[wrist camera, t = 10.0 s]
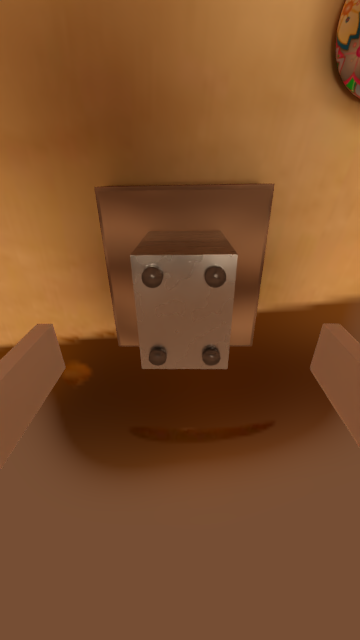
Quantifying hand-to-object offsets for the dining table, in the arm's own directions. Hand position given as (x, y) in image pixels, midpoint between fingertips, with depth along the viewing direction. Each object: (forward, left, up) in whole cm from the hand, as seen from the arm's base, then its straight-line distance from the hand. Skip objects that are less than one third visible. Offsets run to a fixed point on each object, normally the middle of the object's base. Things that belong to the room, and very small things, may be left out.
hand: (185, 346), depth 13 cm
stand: (0, 0, -16) cm, 16 cm away
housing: (0, 0, -12) cm, 12 cm away
